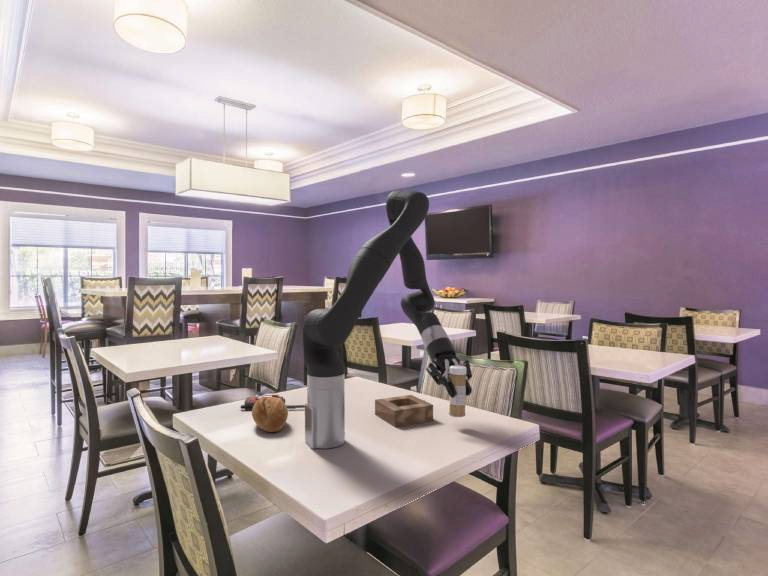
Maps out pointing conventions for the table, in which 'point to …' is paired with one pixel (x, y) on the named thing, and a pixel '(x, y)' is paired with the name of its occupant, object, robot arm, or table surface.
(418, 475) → the table surface
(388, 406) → the walnut bottle stand
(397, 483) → the table surface
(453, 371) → the sprinkles bottle
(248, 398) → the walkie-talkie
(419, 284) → the robot arm
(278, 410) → the bread roll
